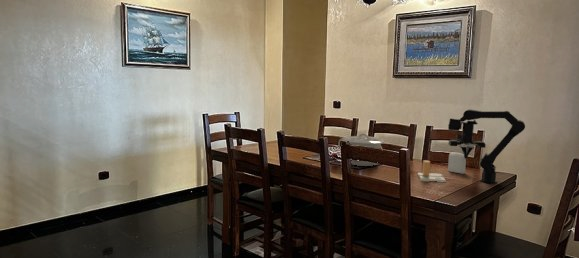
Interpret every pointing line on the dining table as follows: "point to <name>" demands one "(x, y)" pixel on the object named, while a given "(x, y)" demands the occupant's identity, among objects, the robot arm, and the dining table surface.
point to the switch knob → (426, 168)
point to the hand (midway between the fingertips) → (465, 158)
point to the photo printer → (456, 163)
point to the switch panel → (431, 177)
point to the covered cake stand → (363, 141)
